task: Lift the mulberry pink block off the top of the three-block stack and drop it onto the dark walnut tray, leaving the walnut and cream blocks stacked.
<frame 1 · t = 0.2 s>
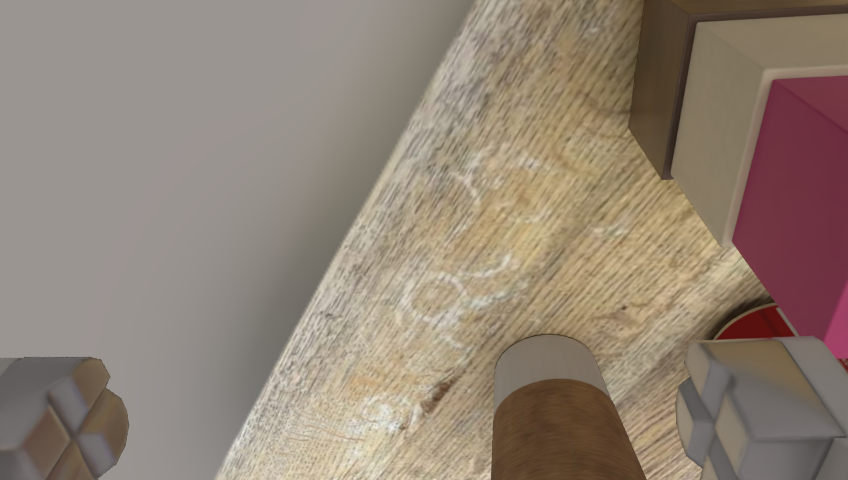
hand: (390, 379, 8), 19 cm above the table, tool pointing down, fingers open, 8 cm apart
cream block: (763, 99, 21), point 5 cm above the table, touching pink block, walnut block
walnut block: (710, 56, 25), on the table, touching cream block
coffee cup: (544, 369, 35), on the table
soda can: (764, 338, 33), on the table
pink block: (843, 162, 17), point 10 cm above the table, touching cream block
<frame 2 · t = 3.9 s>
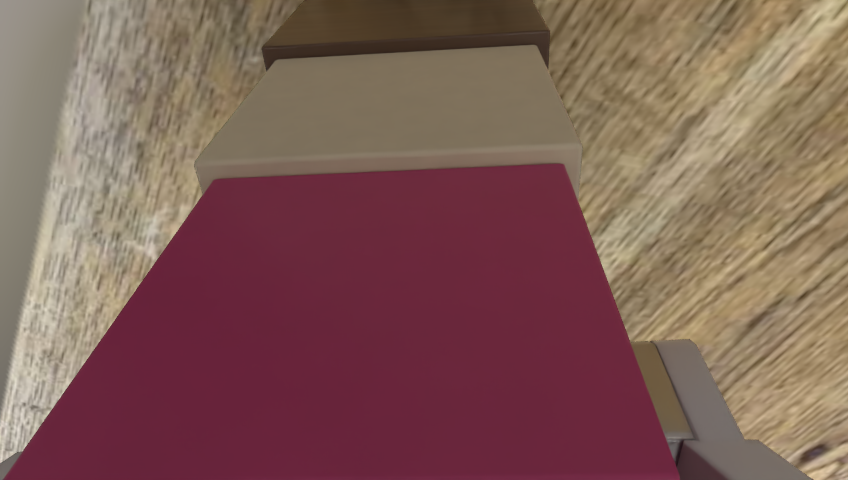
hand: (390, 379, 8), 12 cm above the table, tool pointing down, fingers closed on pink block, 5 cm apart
cream block: (414, 169, 14), point 5 cm above the table, touching pink block, walnut block
walnut block: (421, 95, 18), on the table, touching cream block
pink block: (401, 307, 10), point 10 cm above the table, touching cream block, gripper
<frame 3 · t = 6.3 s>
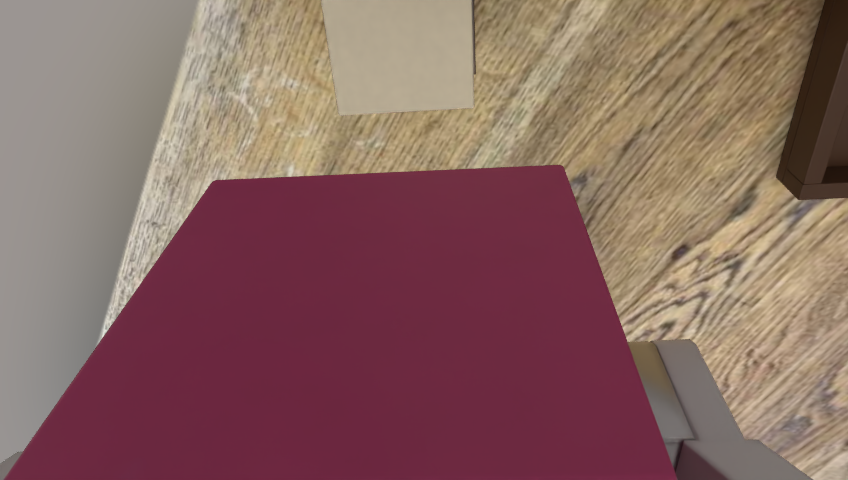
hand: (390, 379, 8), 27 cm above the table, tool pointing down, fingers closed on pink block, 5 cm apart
cream block: (406, 12, 27), point 5 cm above the table, touching walnut block
pink block: (400, 308, 10), point 25 cm above the table, touching gripper
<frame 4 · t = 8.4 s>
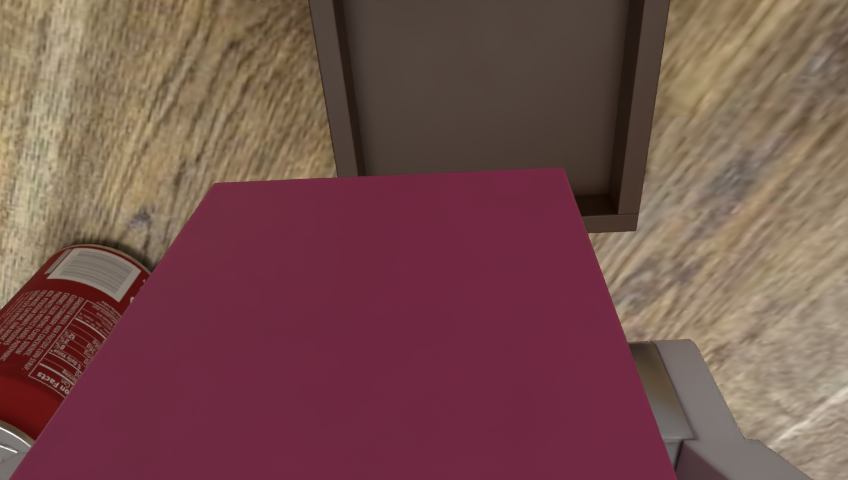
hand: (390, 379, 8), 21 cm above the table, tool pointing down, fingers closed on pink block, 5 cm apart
tray: (484, 11, 26), on the table
soda can: (112, 282, 35), on the table
pink block: (400, 310, 10), point 20 cm above the table, touching gripper
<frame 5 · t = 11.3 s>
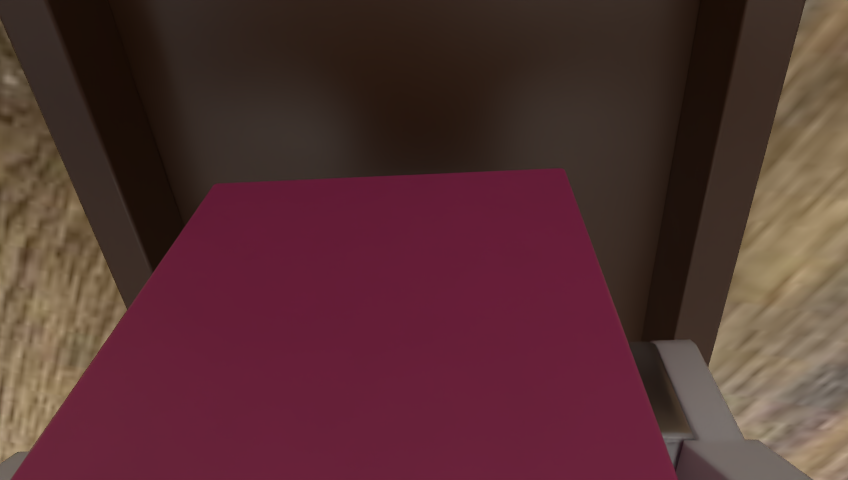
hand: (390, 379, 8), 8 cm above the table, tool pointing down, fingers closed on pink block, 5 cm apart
tray: (415, 144, 15), on the table
pink block: (401, 310, 10), point 6 cm above the table, touching gripper
when the fingers open (2 cm above the table, at t = 13.2 s): pink block stays where it is, resting on tray.
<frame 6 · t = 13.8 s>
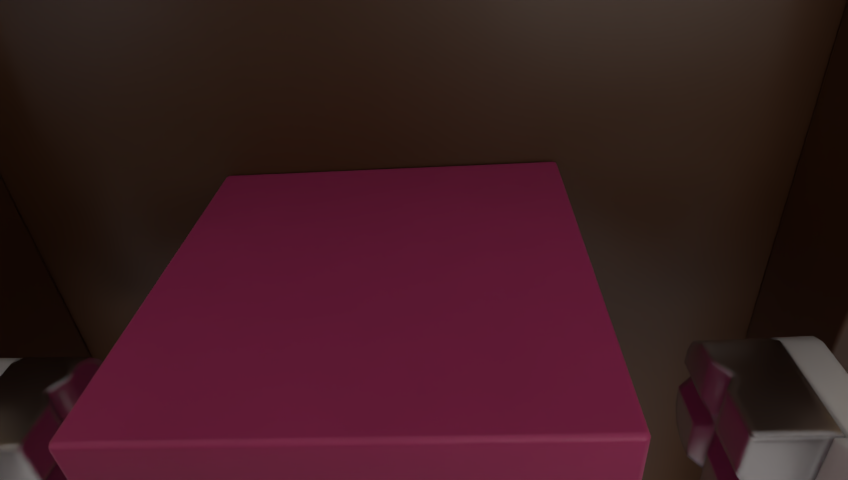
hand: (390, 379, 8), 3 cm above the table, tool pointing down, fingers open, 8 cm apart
tray: (404, 263, 11), on the table
pink block: (402, 297, 10), point 1 cm above the table, touching tray
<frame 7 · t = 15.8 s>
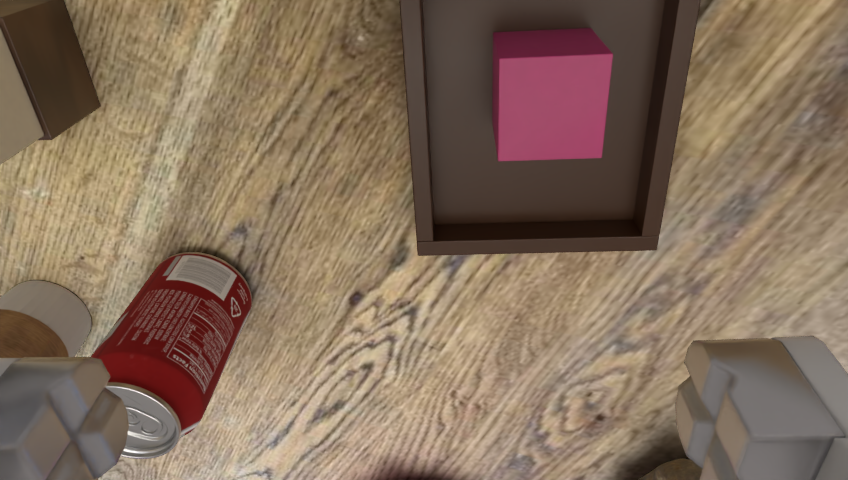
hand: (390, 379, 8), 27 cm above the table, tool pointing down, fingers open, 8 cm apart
bowl: (677, 472, 50), on the table
walnut block: (30, 56, 33), on the table, touching cream block
tray: (537, 71, 33), on the table
coffee cup: (52, 311, 43), on the table
soda can: (207, 285, 42), on the table
pink block: (539, 78, 32), point 1 cm above the table, touching tray
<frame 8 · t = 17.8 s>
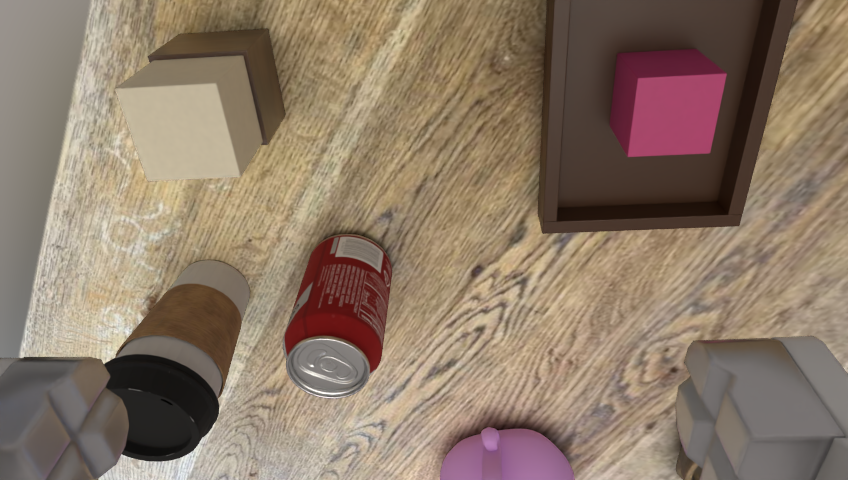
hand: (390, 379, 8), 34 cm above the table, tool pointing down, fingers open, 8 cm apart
cream block: (210, 102, 37), point 5 cm above the table, touching walnut block
bowl: (736, 417, 58), on the table
walnut block: (234, 76, 41), on the table, touching cream block
tray: (648, 82, 40), on the table
teapot: (507, 466, 64), on the table
coffee cup: (216, 286, 51), on the table
soda can: (352, 262, 50), on the table
pink block: (651, 88, 40), point 1 cm above the table, touching tray
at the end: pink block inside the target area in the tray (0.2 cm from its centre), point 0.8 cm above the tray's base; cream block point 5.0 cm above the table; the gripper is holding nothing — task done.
